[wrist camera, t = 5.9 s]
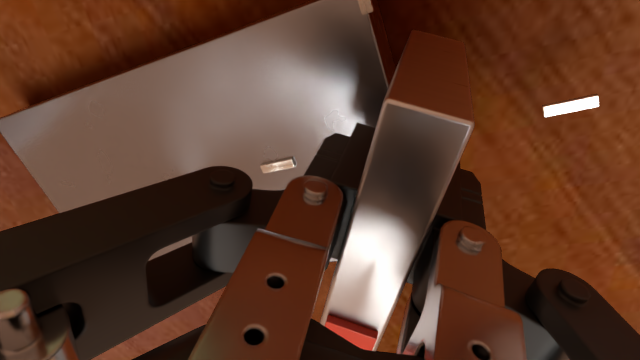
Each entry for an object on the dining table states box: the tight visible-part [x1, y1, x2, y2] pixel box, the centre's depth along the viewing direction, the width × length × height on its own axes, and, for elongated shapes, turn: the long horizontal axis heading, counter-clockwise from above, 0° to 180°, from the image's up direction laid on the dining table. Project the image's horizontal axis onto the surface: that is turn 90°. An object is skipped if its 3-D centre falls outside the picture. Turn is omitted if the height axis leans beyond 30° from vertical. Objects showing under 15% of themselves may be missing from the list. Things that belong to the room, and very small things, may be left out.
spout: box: [320, 30, 475, 351], centre depth 11 cm, size 7×2×6 cm, turn 169°
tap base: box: [0, 0, 599, 262], centre depth 17 cm, size 24×11×2 cm, turn 110°
